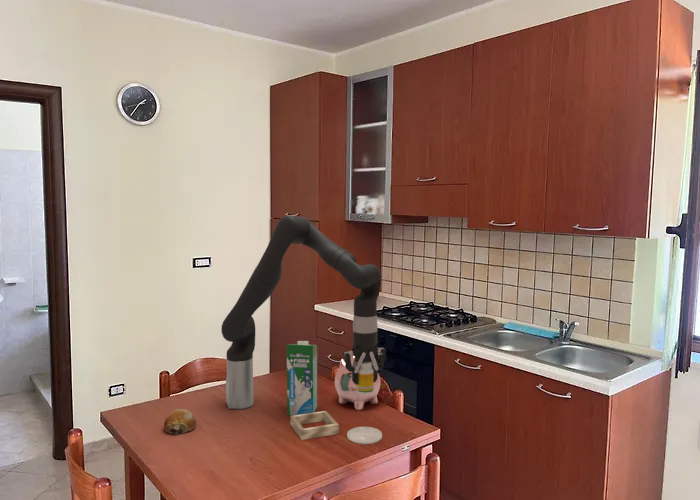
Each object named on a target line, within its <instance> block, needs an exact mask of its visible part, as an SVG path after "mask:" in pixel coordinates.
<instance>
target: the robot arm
mask: <svg viewBox="0 0 700 500" xmlns="http://www.w3.org/2000/svg"><path fill="white" fill-rule="evenodd" d="M271 235H272V236H271V237H270V239H269V242H268V245H267V247H266V248H265V250H264V252H263V254H262V256H261V259H260V260H259V262H258V263H257V265H256V266H255V268H254V270H253V272H252V274H251V276H250V277H249V280H248V281H247V283H246V285H245V287H244V289H243V290H242V292H241V293H240V296H239V297H238V300H236V301H237V302H236V303H235V305H234V306H233V307H232V308H231V310H230V312H229V313H228V314H227V315H226V316H225V318H224V320H223V322H222V324H221V335H222V337H223V338H224V340H225V341H228V342H229V343H231V342H232V343H231V345H230V346H229V348H228V349H227V351H226V378H225V399H226V400H225V401H226V406H227V407H228V409H229V410H231V409H232V410H233V409H235V410H243V409H247V408H250V407H252V406H253V405H254V364H253V362H254V360H253V358H254V356H253V355H254V354H253V353H254V352H255V347H256V322H255V319H254V318H253V315H254V313H255V312H256V311H257V310H258V309H259V308H260V307H261V306H262V305H263V304H264V303H265V302H266V301H267V300H268V299H269V298H270V297H271V295H272V294H273V293H274V291H275V289H276V288H277V285H278V284H279V282H280V280H281V278H282V265H283V264H282V263H283V258H284V257H285V255H286V253H287V251H288V249H289V247H290V246H291V245H292V244H295V245H296V244H297V245H299V244H300V245H303V246H306V247H308V248H310V249H312V250H313V251H314V252H316V253H317V254H318V256H319V257H320V258H321V260H322V261H323V262H324V263H325V264H326V265H328V266H329V267H330V268H332V269H334V271H336V272H337V273H340V275H341V276H342V277H343V278H344V279H345V281H346V282H347V284H349V285H350V286H351V287H353V288H355V289H358V290H360V291H359V292H360V293H359V294H358V295H357V296H355V298H354V301H353V318H352V349H351V350H349V351H345V350H344V351H343V352H342V354H343V359H344V360H345V366H346V369H347V370H348V371H349V372H352V381H353V382H354V384H356V385H358V370H359V367H360V366H361V364H362V363H363V362H372V366H371V367H372V368H373V370H374V381H373V382H376V380H377V379H378V374H379V369H382V368H384V366H385V361H386V355H387V349H386V348H384V347H378V328H379V327H378V317H377V307H378V306H377V301H378V298H379V294H380V289H381V286H382V274H381V270H380V268H379V267H378V266H377V265H376V264H373V263H369V264H363V265H360V264H358V263H357V258H356V257H355V256H354V255H353V253H351V252H349V251H348V250H347V249H345V248H343V247H342V246H341V245H339V244H337V243H335V242H334V241H333V240H331V239H330V238H328V237H327V236H326V235H325V234H324V233H323V232H321V231H320V230H319V229H318V228H317V227H316V226H315V225H314V224H313V223H312V222H311V221H310V220H308V219H307V218H305V217H304V216H297V215H284V216H283V217H281V218H280V220H279V221H278V222H277V224H276V226H275V229H274V231H273V233H272V234H271ZM353 355H354V356H355V358H354V361H353V366H352V364H351V358H352V356H353ZM376 355H378V356H377V359H376V358H375V357H376Z"/></svg>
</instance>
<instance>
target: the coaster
mask: <svg viewBox="0 0 700 500" xmlns="http://www.w3.org/2000/svg"><path fill="white" fill-rule="evenodd" d="M346 433H347V434H346V438H347V439H348V440H349V441H350V442H353V443H355V444H359V445H371V444H376V443H378V442H380V441H381V440H382V439H383V433H382V431H381V430H380V429H378V428H376V427H371V426H357V427H353V428H351V429H350V430H348V431H347V432H346Z"/></svg>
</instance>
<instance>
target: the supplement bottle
mask: <svg viewBox="0 0 700 500" xmlns="http://www.w3.org/2000/svg"><path fill="white" fill-rule="evenodd" d="M371 366H372V362H363V363H362V364H361V366H360V367H359V370H358V385H356V391H357V392H358V393H359V394H371V393H372V392H373V381H374V370H373V368H371Z"/></svg>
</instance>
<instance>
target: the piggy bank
mask: <svg viewBox="0 0 700 500" xmlns="http://www.w3.org/2000/svg"><path fill="white" fill-rule="evenodd" d="M354 358H355V356H354V355H352V358H351V364H352V366H353V361H354ZM371 368H372V367H371ZM337 369H338V370H337V372H336V373H335V377H334V386H335V390H336V392H337V395H338V404H341V405H342V404H343V405H345V404H347V403H349V402H350V403H353V407H354V409H355V410H357V411H361V410H362V411H363V410H364V407H365V403H368V402H369V403H370V404H371V405H374V404H378V403H379V400H378V396H377V395H378V393H379V391H380V388H381V377H380V374H379V373H378V379H377V380H376V382H373V392H372V393H371V394H359V393H358V392H357V391H356V384H354V382H353V381H352V372H349V371H348V370H347V369H346V366H345V360H344V358H341V359H340V362H339V367H338V368H337Z"/></svg>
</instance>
